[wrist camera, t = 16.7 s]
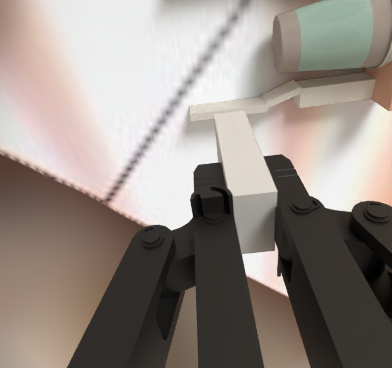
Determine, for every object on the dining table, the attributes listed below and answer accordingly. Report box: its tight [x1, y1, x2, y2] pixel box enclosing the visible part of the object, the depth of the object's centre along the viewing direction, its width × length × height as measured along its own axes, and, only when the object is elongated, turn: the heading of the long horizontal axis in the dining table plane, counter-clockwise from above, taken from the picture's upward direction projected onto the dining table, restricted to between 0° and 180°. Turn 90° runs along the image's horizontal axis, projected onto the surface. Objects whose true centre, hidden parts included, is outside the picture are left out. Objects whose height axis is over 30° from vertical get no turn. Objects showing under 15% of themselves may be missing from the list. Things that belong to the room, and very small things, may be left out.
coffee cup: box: [273, 0, 392, 72], centre depth 32 cm, size 8×9×12 cm
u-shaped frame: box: [190, 61, 392, 121], centre depth 33 cm, size 26×17×7 cm, turn 97°
